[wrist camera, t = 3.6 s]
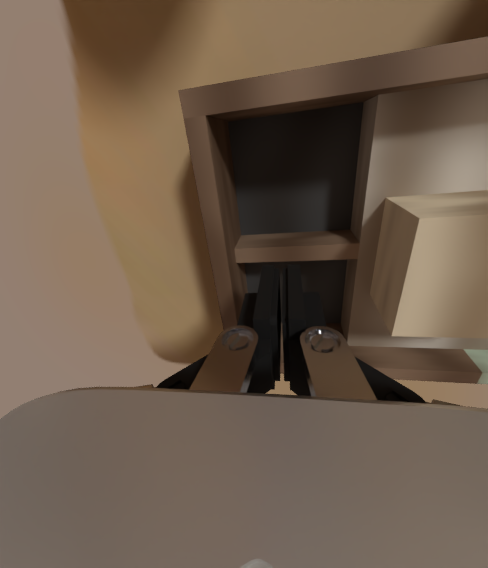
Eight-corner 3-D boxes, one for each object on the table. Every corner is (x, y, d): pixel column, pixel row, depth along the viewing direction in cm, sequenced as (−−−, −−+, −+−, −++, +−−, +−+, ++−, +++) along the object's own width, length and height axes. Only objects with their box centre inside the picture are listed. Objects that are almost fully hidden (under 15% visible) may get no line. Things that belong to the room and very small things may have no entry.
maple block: (547, 185, 12) (652, 204, 8) (497, 293, 15) (560, 340, 11) (385, 197, 13) (419, 218, 10) (369, 294, 16) (391, 336, 13)
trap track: (838, 4, 10) (1258, -99, 6) (591, 334, 18) (684, 394, 14) (210, 104, 15) (178, 90, 10) (242, 327, 23) (231, 370, 19)
